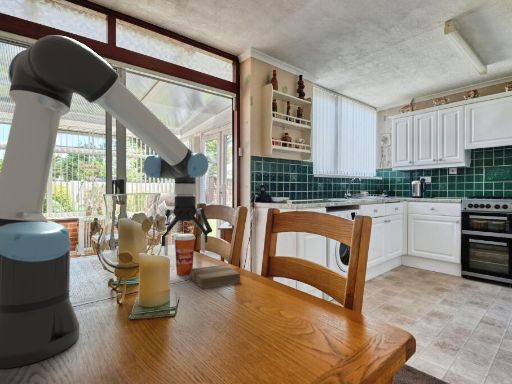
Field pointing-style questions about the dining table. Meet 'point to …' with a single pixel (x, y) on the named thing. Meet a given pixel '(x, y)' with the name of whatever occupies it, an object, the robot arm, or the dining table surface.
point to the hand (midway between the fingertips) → (184, 253)
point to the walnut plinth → (215, 276)
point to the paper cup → (184, 253)
